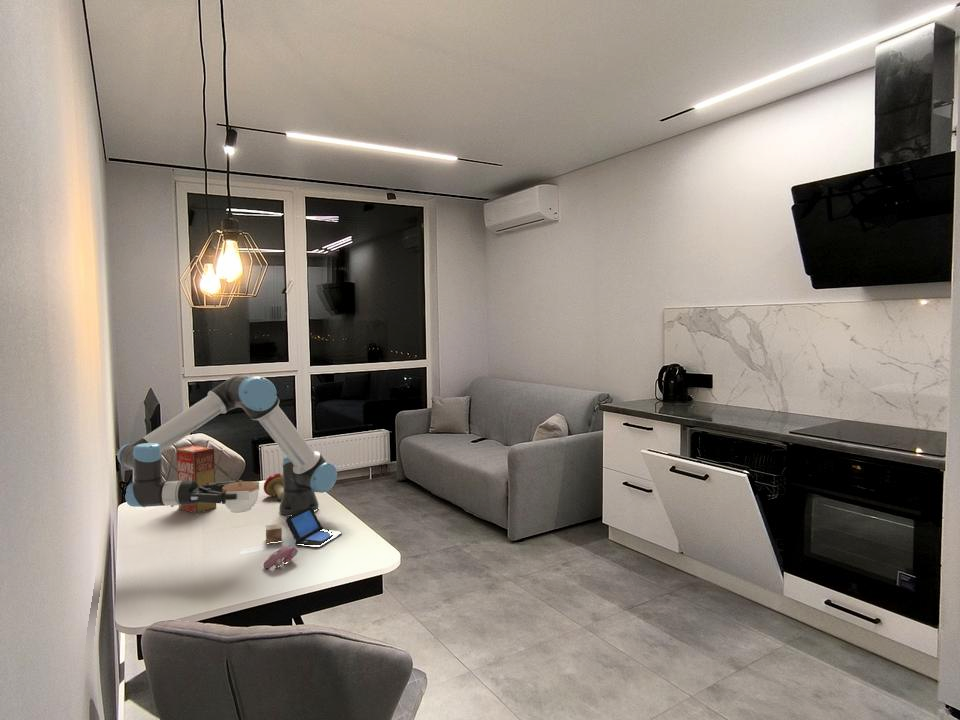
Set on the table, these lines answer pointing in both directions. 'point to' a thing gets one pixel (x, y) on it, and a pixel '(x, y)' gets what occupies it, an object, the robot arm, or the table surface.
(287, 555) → the video game controller
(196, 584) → the table surface
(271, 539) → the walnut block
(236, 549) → the table surface
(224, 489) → the lidded jar
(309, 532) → the handheld game console
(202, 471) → the food packaging
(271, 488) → the decorative mushroom
